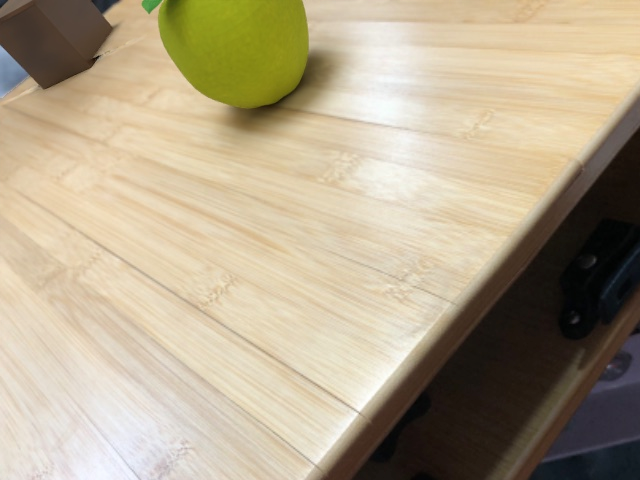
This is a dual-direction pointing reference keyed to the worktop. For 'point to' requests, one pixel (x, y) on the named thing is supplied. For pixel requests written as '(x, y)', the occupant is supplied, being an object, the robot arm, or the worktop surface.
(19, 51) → the walnut box
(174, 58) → the fruit
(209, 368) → the worktop surface
